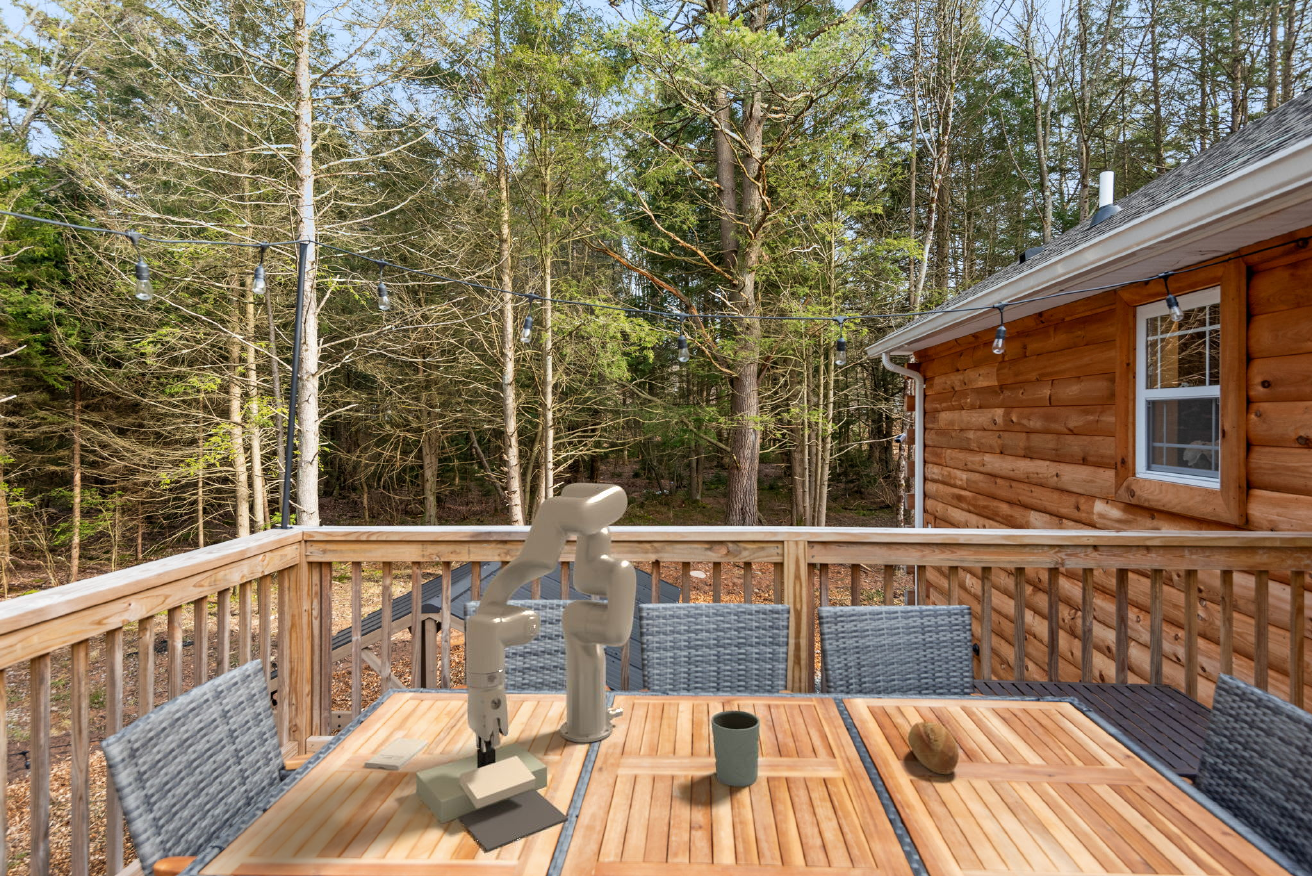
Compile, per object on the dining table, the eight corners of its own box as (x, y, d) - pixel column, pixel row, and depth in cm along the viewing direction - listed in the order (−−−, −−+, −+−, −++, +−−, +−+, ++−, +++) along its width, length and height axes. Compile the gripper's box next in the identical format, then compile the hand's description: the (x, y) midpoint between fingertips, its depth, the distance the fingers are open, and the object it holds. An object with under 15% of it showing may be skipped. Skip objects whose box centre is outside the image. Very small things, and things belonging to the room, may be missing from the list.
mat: (535, 791, 139) (535, 789, 139) (568, 820, 129) (568, 817, 129) (458, 819, 129) (458, 817, 129) (487, 852, 119) (487, 849, 119)
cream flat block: (515, 764, 141) (516, 755, 140) (534, 787, 135) (535, 778, 134) (459, 783, 133) (460, 774, 133) (476, 808, 127) (477, 799, 127)
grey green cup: (758, 791, 139) (758, 731, 139) (708, 786, 141) (708, 727, 141) (761, 767, 149) (760, 711, 149) (714, 763, 151) (714, 708, 151)
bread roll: (920, 778, 144) (920, 740, 144) (900, 746, 159) (900, 711, 159) (968, 780, 143) (967, 741, 143) (943, 747, 158) (943, 712, 158)
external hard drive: (428, 747, 161) (398, 772, 149) (396, 744, 162) (364, 769, 150) (428, 740, 161) (398, 765, 149) (396, 737, 162) (364, 761, 150)
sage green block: (516, 760, 152) (516, 742, 152) (547, 786, 141) (547, 766, 141) (416, 792, 139) (416, 773, 139) (441, 823, 128) (441, 802, 128)
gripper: (519, 683, 135) (520, 777, 135) (488, 663, 146) (488, 750, 146) (483, 692, 130) (483, 789, 130) (453, 670, 142) (454, 760, 142)
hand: (486, 768), depth 138 cm, fingers closed
